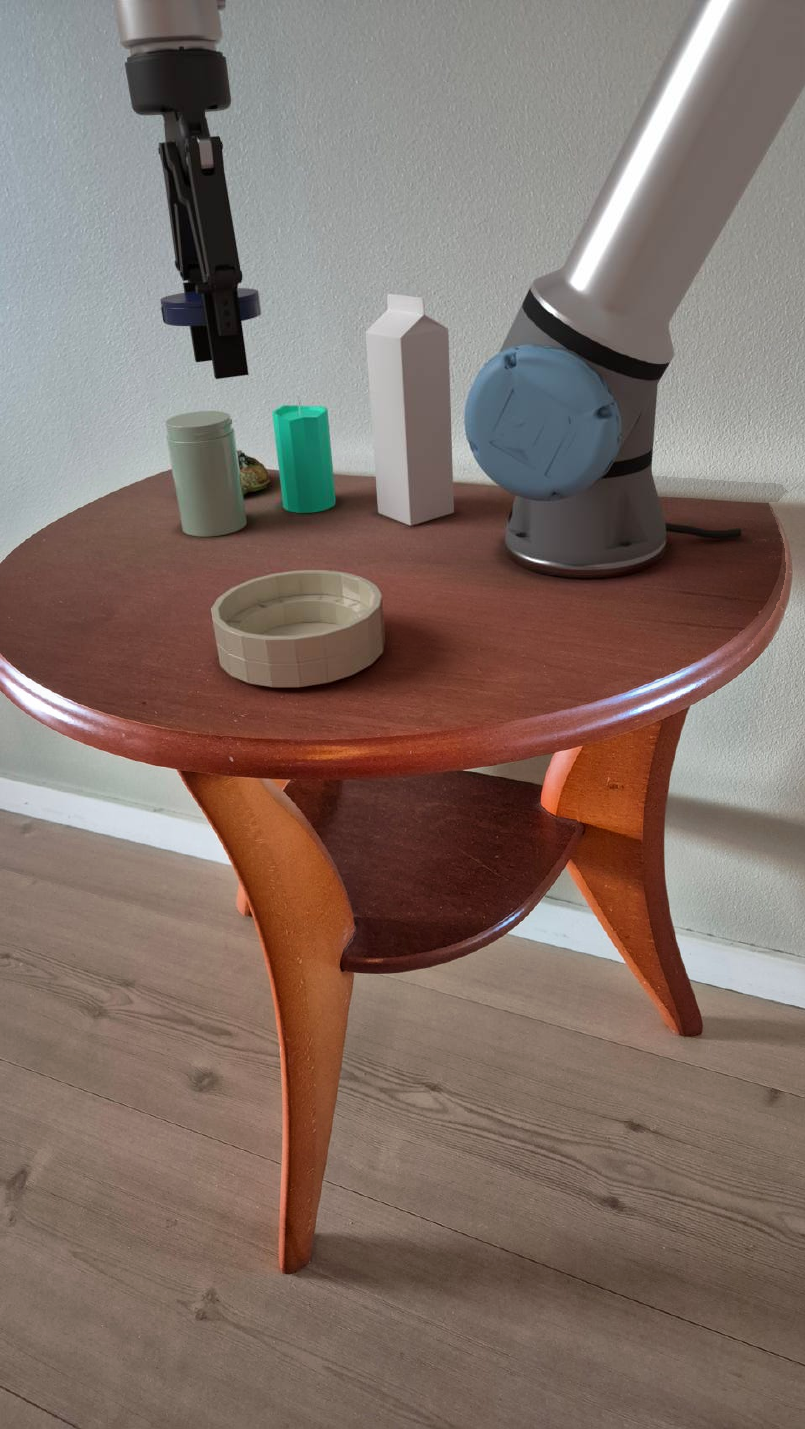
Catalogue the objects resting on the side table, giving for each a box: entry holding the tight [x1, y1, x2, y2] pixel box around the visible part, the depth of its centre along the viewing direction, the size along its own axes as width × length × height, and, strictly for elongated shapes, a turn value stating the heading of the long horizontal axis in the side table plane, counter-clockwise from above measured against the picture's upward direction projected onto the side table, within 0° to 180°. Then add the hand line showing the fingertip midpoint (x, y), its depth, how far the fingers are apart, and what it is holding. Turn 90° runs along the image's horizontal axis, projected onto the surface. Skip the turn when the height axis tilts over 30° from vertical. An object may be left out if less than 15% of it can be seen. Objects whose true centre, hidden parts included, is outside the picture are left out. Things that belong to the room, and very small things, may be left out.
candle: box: [271, 395, 337, 514], centre depth 109 cm, size 6×6×12 cm
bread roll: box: [237, 449, 271, 496], centre depth 118 cm, size 11×11×5 cm
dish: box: [210, 569, 386, 688], centre depth 78 cm, size 13×13×4 cm
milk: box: [365, 293, 455, 527], centre depth 102 cm, size 6×6×22 cm
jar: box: [165, 410, 248, 538], centre depth 105 cm, size 7×7×12 cm
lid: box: [159, 287, 262, 327], centre depth 83 cm, size 8×8×2 cm
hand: (220, 367), depth 85 cm, fingers closed on lid, 8 cm apart
